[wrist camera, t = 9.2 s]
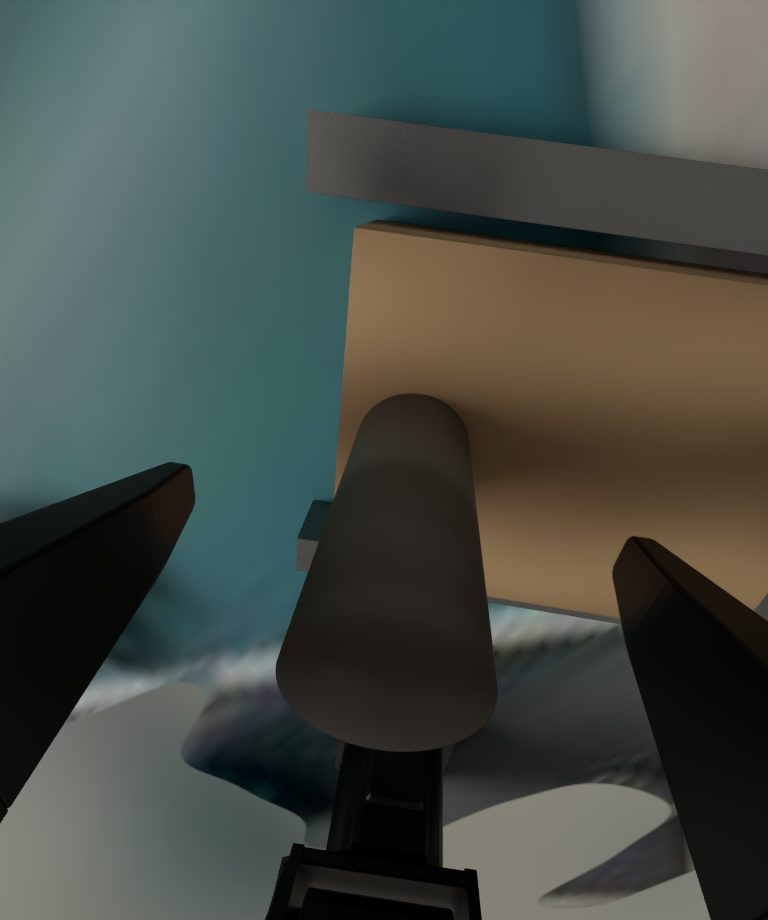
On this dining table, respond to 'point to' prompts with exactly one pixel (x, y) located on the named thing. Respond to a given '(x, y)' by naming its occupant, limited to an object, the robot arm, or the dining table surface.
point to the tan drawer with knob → (518, 462)
